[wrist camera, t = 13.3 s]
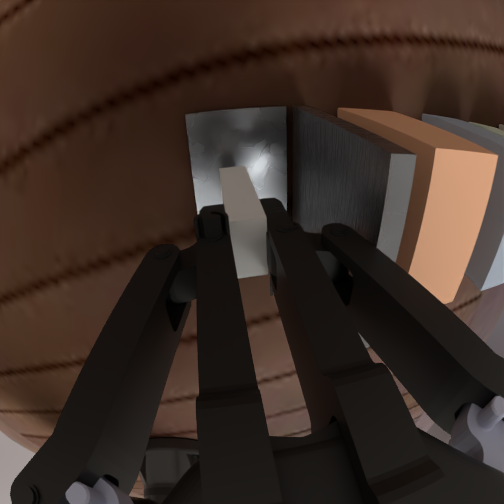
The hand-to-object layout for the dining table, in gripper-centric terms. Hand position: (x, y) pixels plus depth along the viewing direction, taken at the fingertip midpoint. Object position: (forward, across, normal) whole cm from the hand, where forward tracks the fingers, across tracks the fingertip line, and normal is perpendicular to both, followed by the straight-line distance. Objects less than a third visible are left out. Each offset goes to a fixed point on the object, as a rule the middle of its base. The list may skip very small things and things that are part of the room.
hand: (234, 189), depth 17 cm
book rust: (+3, +10, 0) cm, 10 cm away
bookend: (+2, +1, 0) cm, 3 cm away
